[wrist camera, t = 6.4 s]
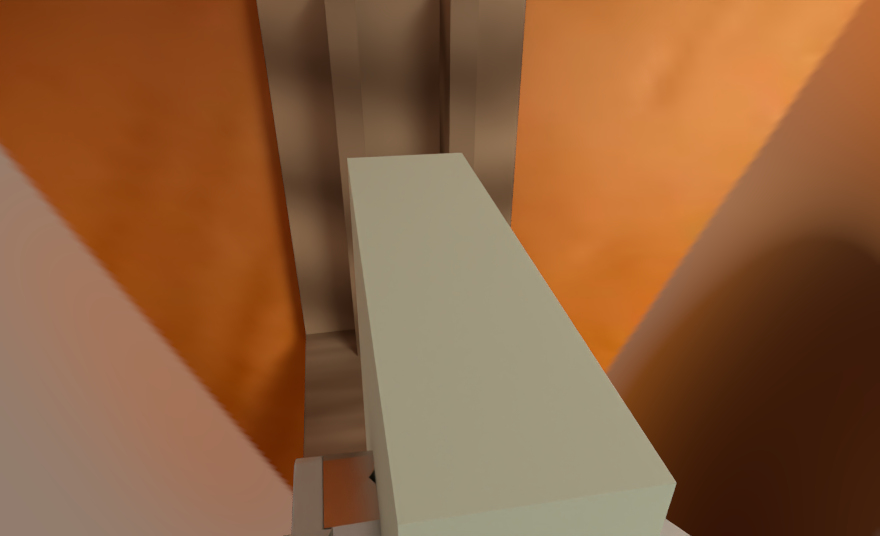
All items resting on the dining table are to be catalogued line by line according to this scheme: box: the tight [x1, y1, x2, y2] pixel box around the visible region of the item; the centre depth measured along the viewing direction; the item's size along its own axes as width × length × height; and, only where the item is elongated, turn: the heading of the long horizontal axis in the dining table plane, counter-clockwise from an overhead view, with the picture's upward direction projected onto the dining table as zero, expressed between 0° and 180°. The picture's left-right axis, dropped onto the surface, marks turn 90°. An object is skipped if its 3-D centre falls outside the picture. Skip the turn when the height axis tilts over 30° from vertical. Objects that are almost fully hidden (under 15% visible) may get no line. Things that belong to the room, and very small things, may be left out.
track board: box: [256, 0, 526, 458], centre depth 26 cm, size 20×12×14 cm, turn 0°
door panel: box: [347, 153, 676, 536], centre depth 11 cm, size 10×2×9 cm, turn 179°
